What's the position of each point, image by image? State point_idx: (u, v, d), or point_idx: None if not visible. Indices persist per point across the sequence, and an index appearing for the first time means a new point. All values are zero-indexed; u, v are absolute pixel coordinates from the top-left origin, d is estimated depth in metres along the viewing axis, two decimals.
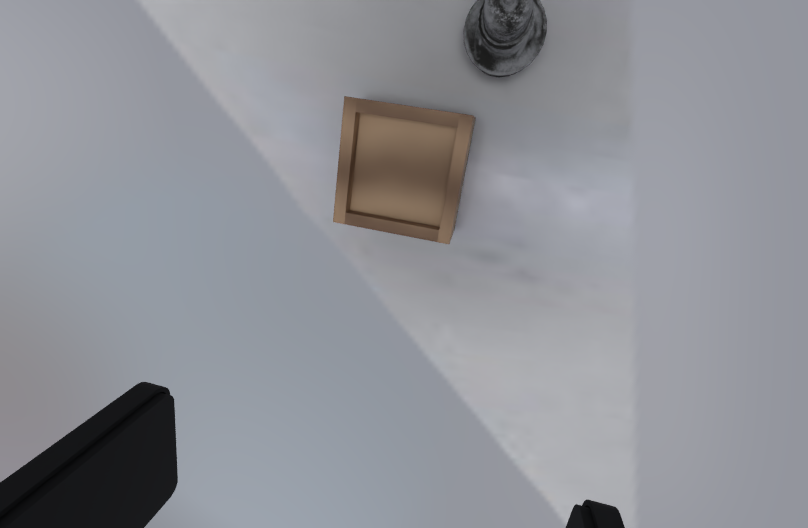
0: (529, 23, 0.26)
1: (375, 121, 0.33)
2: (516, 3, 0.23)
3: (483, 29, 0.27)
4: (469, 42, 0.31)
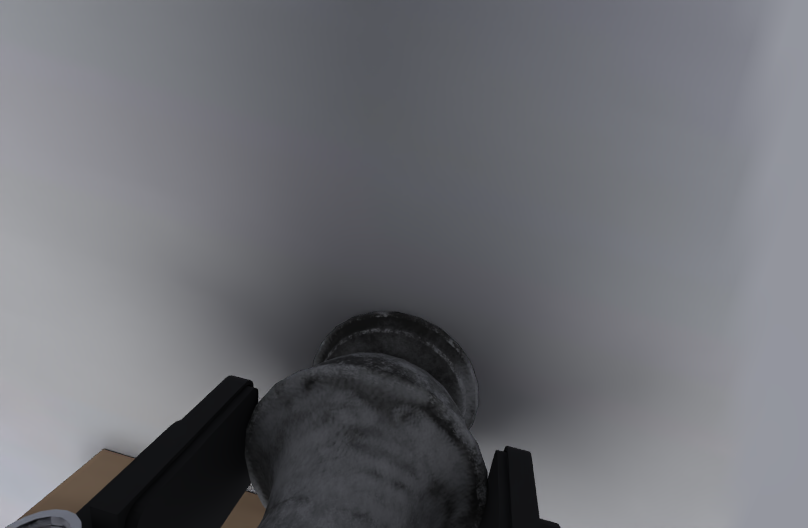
0: None
1: None
2: None
3: None
4: (261, 487, 0.10)
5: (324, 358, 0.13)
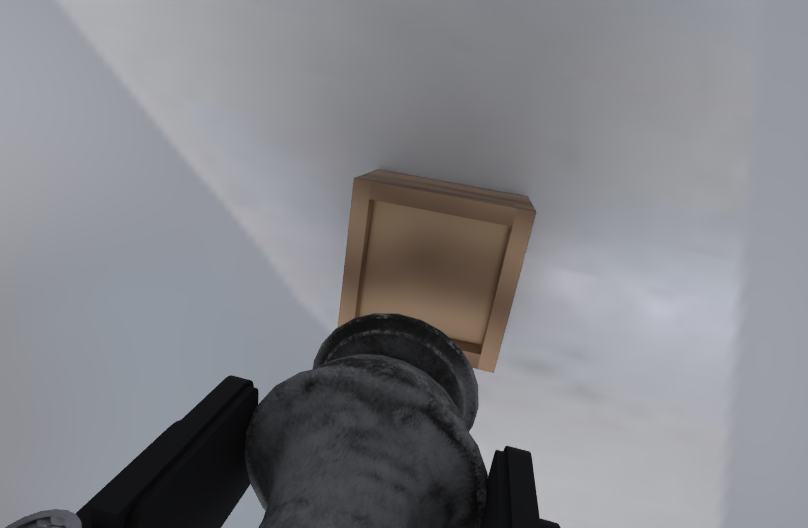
0: None
1: (395, 208, 0.24)
2: None
3: None
4: (261, 488, 0.10)
5: (324, 359, 0.13)
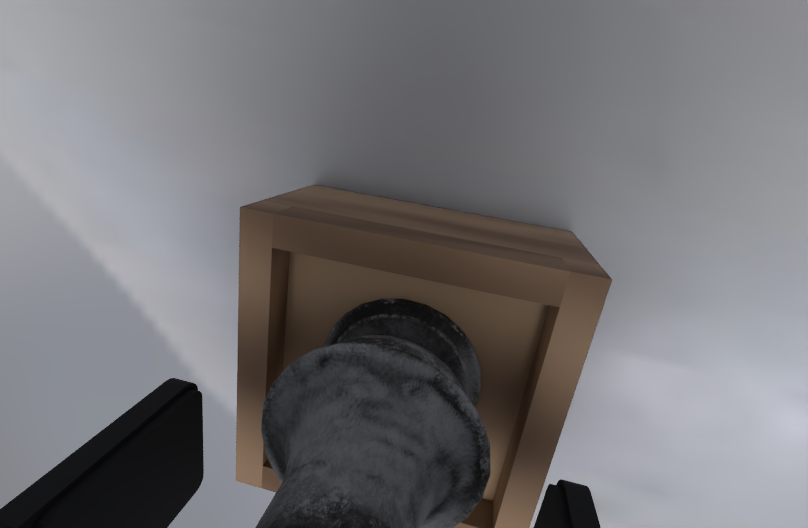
0: None
1: (330, 261, 0.13)
2: None
3: None
4: (277, 461, 0.11)
5: (334, 343, 0.14)
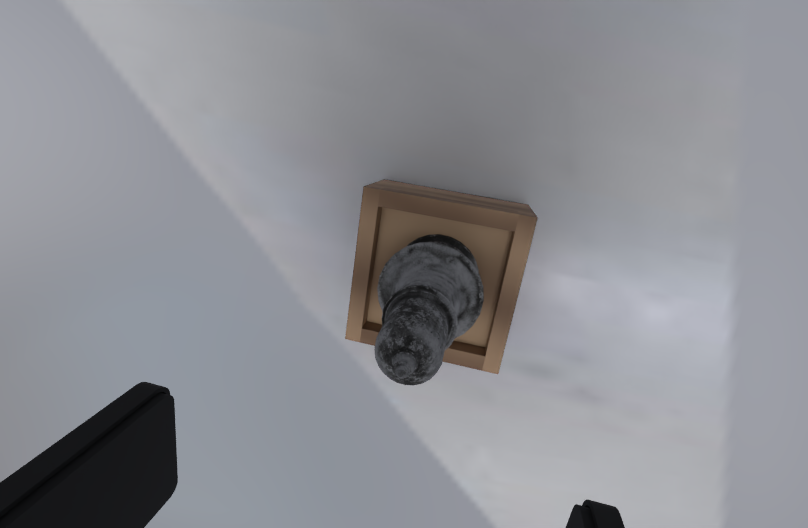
0: (449, 335, 0.19)
1: (402, 215, 0.26)
2: (414, 367, 0.16)
3: None
4: (384, 303, 0.23)
5: None
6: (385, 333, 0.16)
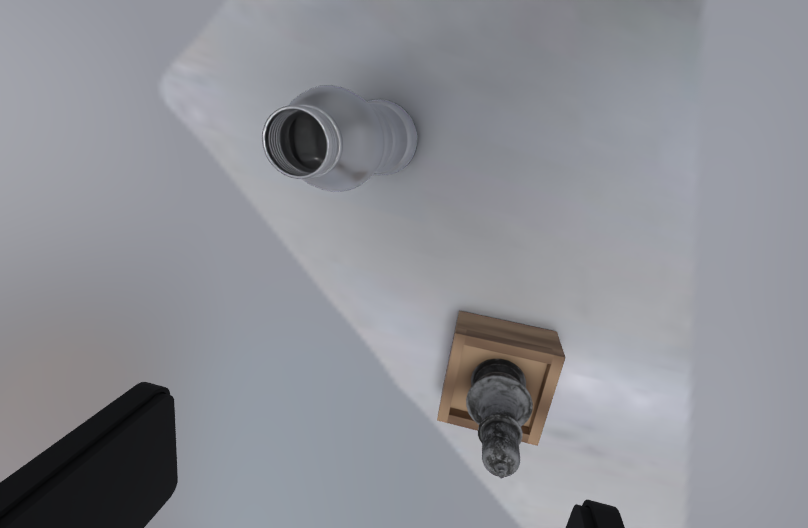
0: (518, 441, 0.33)
1: None
2: (506, 470, 0.30)
3: (481, 439, 0.34)
4: (470, 408, 0.38)
5: (476, 372, 0.41)
6: (490, 451, 0.31)
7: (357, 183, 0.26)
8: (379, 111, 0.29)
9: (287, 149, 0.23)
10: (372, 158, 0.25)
